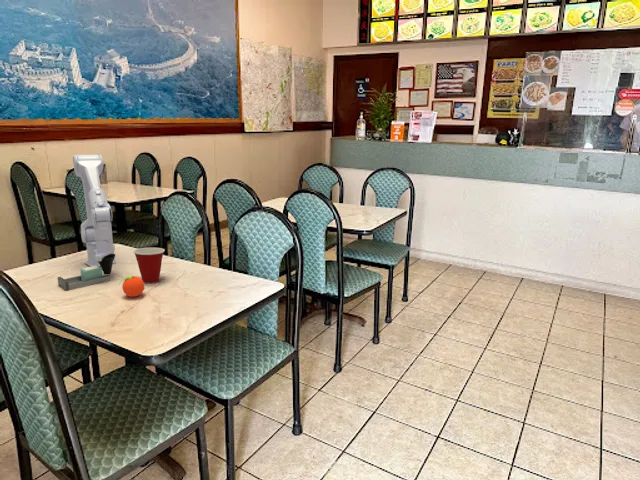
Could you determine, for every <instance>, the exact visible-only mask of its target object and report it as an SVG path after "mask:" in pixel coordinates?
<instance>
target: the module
mask: <svg viewBox="0 0 640 480" xmlns="http://www.w3.org/2000/svg"><path fill="white" fill-rule="evenodd" d="M80 275H81V280H82V281H85V280H90V279H94V278H98V277H103V276H104V273H103V271H102V268H101V266H92V267H91V266H86V267H84V268H80Z"/></svg>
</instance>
